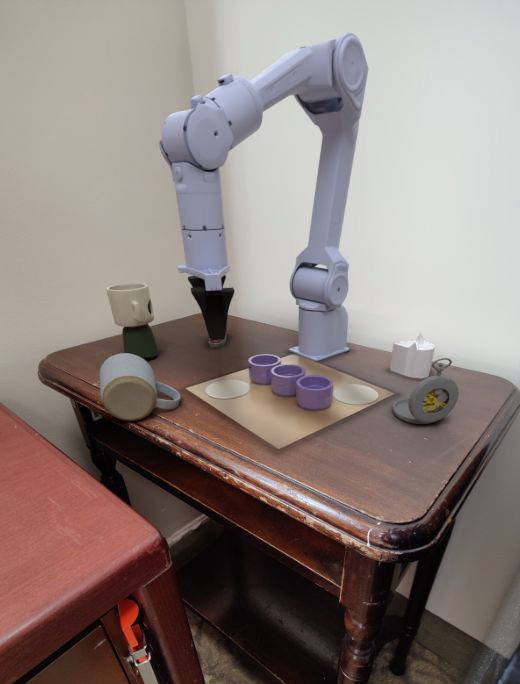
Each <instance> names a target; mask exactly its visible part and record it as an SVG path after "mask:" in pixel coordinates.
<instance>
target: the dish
mask: <svg viewBox="0 0 520 684" xmlns="http://www.w3.org/2000/svg"><path fill="white" fill-rule="evenodd" d="M281 358H282V357H280V356H279V355H275V354H270V353H262V354H261V353H260V354H256V355H252V356H251V357H249V358H248V360H247V364H248V368H249V378H250V379H251V381H252V382H253V383H254V384H257V385H271V369H272V368H273V367H275V366H278V365H281Z"/></svg>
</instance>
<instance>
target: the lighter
mask: <svg viewBox="0 0 520 684" xmlns="http://www.w3.org/2000/svg"><path fill="white" fill-rule="evenodd" d="M208 338H209V339H208V346H209V347H210V348H212V349H213V348H218V347H219V348H220V347H221V346H224V345H225V344H226V342H227V335H226V336H225V339H221V340H211V339H210V337H209V336H208Z"/></svg>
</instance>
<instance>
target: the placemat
mask: <svg viewBox="0 0 520 684" xmlns="http://www.w3.org/2000/svg"><path fill="white" fill-rule="evenodd" d="M280 358H281V365H282V364H295V365H300V366H302V367H304V368H305V370H306V376H308V375H321V376H326V377H328V378H330V379H331V380H332V381H333V400H332V403H331V405H330V407H329V408H327V409H325V410H322V411H308V410H304V409H302V408H301V407H299V405H298V403H297V402H296V397H290V398H287V397H280V396H277V395H275V394H274V392H273V390H272V389H271V385H257V384H254V383H253V382H252V381H251V379H250V378H249V367H248V368H245V369H242V370H238V371H236V372H233V373H232V372H231V373H228V374H226V375H223V376H220V377H216V378H214V379H209V380H206V381H204V382H201V383H197V384H194V385H191V386H188V387H185V389H186V390H187V391H188V392H190V393H191V394H193V395H194V396H196V397H197V398H199V399H201V400H202V401H204V402H205V403H206V404H208V405H210V406H211V407H212V408H214V409H216V410H217V411H219V412H221V413H222V414H223V415H224V416H226V417H228V418H229V419H231V420H232V421H234V422H236V423H237V424H239V425H240V426H241V427H243V428H244V429H246V430H247V431H249V432H250V433H252V434H254V436H257V437H258V438H259V439H261V440H263V441H265V442H266V443H268V444H269V445H271V446H272V447H273V448H275V449H277V450H278V451H279V450H281V449H283V448H285V447H287V446H289V445H291V444H293V443H295V442H297V441H300V440H302V439H303V438H306V437H308V436H310V435H312V434H314V433H316V432H319V431H320V430H323V429H325V428H327V427H329V426H332V425H333V424H335V423H337V422H339V421H341V420H344V419H346V418H347V417H350V416H352V415H353V414H356V413H358V412H360V411H362V410H364V409H367V408H368V407H370V406H372V405H375V404H377V403H379V402H381V401H383V400H385V399H388V398H389V397H392V396H394V395H396V393H395V392H392V391H390V390H388V389H385V388H382V387H380V386H377V385H376V384H372V383H370V382H368V381H365V380H362V379H360V378H357V377H355V376H352V375H350V374H347V373H345V372H343V371H339V370H337V369H336V368H335V369H334V368H332V367H329V366H328V365H325V364H322V363H320V362H318V361H313V360H310V359H308V358H305V357H303V356H300V355H297V354H295V353H292V354H289V355H286V356H283V357H280Z"/></svg>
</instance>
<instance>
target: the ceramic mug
mask: <svg viewBox="0 0 520 684" xmlns="http://www.w3.org/2000/svg"><path fill="white" fill-rule="evenodd" d="M98 376H99V390H100V391H99V393H100V400H101V402H102V405H103V407H104V409H105V410H106V411H107V412H108V413H109V415H111V416H112V417H114V418H116V419H118V420H121V421H125V422H134V421H139V420H140V421H141V420H142V419H144V418H146V417H147V416H149V415H150V414H151V413H152V412H153V411H154V409H160V410H166V411H167V410H175V409H177V408H178V407H179V405H180V401H181V397H182V396H181V394H180V392H179V391H178V390H176V389H175V388H174V387H172V386H170V385H167V384H166V383H163V382H161V381H158V380H157V381H156V377H155V373H154V369H153V368H152V367H151V365H150V363H148V362H147V360H146V359H143V358H141V357H139V356H136V355H133V354H129V353H125V352H123V353H122V352H121V353H117V354H114V355H111V356H110V357H108V358H106V359H105V361H104V362H103V363H102V364H101V366H100V369H99V375H98ZM158 393H160V394H163V395H164V396H168V397H169V398H171V400H170V399H164V398H158Z"/></svg>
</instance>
